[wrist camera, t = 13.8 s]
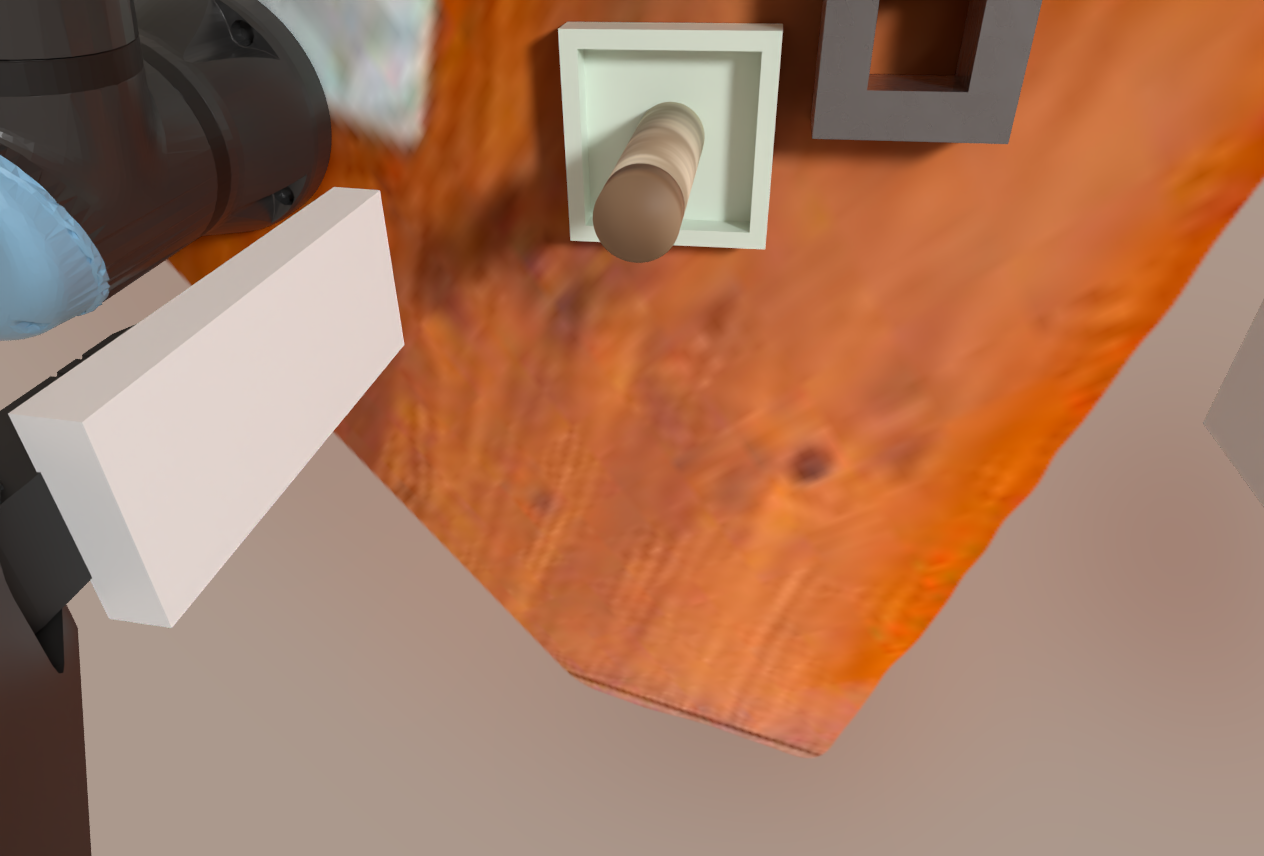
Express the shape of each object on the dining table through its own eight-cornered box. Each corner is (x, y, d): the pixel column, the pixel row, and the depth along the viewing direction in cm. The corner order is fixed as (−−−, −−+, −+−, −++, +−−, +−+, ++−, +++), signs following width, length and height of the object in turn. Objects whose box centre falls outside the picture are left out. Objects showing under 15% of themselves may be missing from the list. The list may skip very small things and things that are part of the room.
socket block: (810, 119, 48) (812, 138, 44) (831, -85, 42) (835, -81, 39) (992, 123, 46) (1007, 143, 43) (1039, -87, 41) (1061, -83, 37)
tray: (578, 226, 53) (570, 240, 51) (567, 21, 47) (557, 28, 45) (766, 234, 52) (765, 249, 50) (782, 23, 45) (782, 30, 43)
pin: (637, 170, 50) (594, 260, 39) (636, 100, 48) (590, 175, 36) (703, 172, 50) (679, 264, 38) (705, 102, 47) (681, 178, 36)
